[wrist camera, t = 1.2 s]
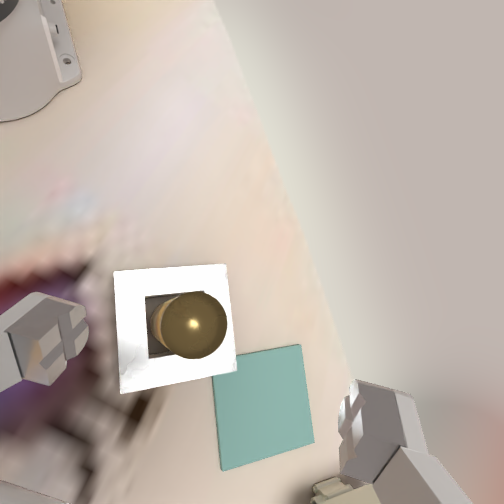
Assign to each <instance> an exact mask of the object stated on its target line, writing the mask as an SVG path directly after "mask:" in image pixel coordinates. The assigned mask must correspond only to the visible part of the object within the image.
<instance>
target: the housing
mask: <svg viewBox="0 0 504 504" xmlns="http://www.w3.org/2000/svg"><path fill="white" fill-rule="evenodd" d="M114 284H115V303H116V322H117V341H118V360H119V378H120V394H124V393H129V392H134V391H139V390H144V389H149V388H154V387H159V386H164V385H169V384H174V383H179V382H184V381H189V380H194V379H199V378H204V377H208V376H213V375H218V374H223V373H228V372H233V371H237V362H236V353H235V344H234V334H233V325H232V316H231V306H230V297H229V288H228V279H227V269H226V264H213V265H199V266H185V267H171V268H157V269H143V270H129V271H115V272H114ZM194 291H198V292H204V293H207V294H209V295H211V296H213V297H214V298H216V299H217V300H218V301H219V302H220V303H221V305H222V306H223V308H224V310H225V312H226V316H227V323H228V326H227V333H226V336H225V338H224V341H223V342H222V344H221V345H220V347H219V348H218V349H217V350H216V351H215V352H213V353H212V354H211V355H209V356H207V357H204V358H201V359H195V360H191V359H185V358H182V357H179V356H177V355H176V354H174V353H173V352H172V351H168V352H162V353H156V354H150V355H148V343H147V328H146V313H145V298H150V297H159V296H169V295H179V294H184V293H188V292H194Z"/></svg>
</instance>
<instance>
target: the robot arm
mask: <svg viewBox="0 0 504 504" xmlns="http://www.w3.org/2000/svg"><path fill="white" fill-rule="evenodd" d="M66 62H69V63H71V64H65V63H66ZM81 79H82V73H81V69H80V65H79V62H78V58H77V54H76V51H75V47H74V44H73V40H72V36H71V33H70V29H69V26H68V22H67V19H66V15H65V11H64V8H63V4H62V1H61V0H0V121H9V120H15V119H19V118H22V117H26V116H28V115H31V114H33V113H35V112H37V111H38V110H40V109H41V108H43V107H44V106H45V105H46V104H48V103H49V102H50V100H51V99H52V98H53V97H54V96H55V95H56V94H57V93H58V92H59V91H61V90H63V89H65V88H68V87H70V86H72V85H75V84H76V83H78V82H79V81H80V80H81ZM86 315H87V314H86V309H85V306H83V305H80V304H77V303H74V302H70V301H67V300H64V299H61V298H57V297H54V296H50V295H46V294H43V293H40V292H34V293H30V294H29V295H28V296H26V297H25V298H23V299H22V300H21V301H19V302H18V303H17V304H15V305H14V306H13V307H11V308H10V309H9V310H7V311H6V312H4V313H3V314H2V315H0V392H2V391H3V390H5V389H7V388H9V387H11V386H13V385H14V384H16V383H18V382H20V381H22V379H25V380H29V381H33V382H37V383H40V384H44V385H48V386H50V385H51V384H52V383H53V382H54V381H55V380H56V379H57V378H58V376H59V375H60V374H61V373H62V372H63V371H64V370H65V369H66V365H67V360H69V359H71V358H73V357H75V356H77V355H78V354H79V353H80V351H81V350H82V349H83V348H84V346H85V343H86V341H87V339H88V334H89V329H88V325H87V324H86V322H85V321H84V320H83V318H84V317H85V316H86ZM349 391H350V395H349V396H346V397H344V399H343V402H342V404H341V407H340V412H339V420H338V432H339V433H340V435H341V437H342V438H343V441H342V443H341V445H340V447H339V459H340V474H343V475H346V476H349V477H352V478H355V479H358V480H361V481H364V482H367V483H370V484H373V485H372V487H373V489H374V491H375V493H376V495H377V497H378V499H379V501H380V503H381V504H473V503H472V501H471V500H470V499H469V498H468V497H467V495H466V494H465V493H464V491H463V490H462V489H461V488H460V487H459V485H458V484H457V483H456V482H455V480H454V479H453V478H452V477H451V475H450V474H449V473H448V472H447V470H446V469H445V468H444V467H443V465H442V464H441V463H440V462H439V460H438V459H437V458H436V457H435V456H432V455H429V452H428V448H427V445H426V441H425V438H424V434H423V430H422V427H421V423H420V420H419V416H418V412H417V409H416V405H415V402H414V398H413V397H412V395H411V394H409V393H405V392H402V391H398V390H394V389H390V388H387V387H383V386H379V385H376V384H372V383H368V382H364V381H360V380H357V379H355V380H353V381H352V383H351V385H350V387H349ZM0 504H70V503H67V502H64V501H61V500H58V499H55V498H52V497H49V496H47V495H44V494H41V493H38V492H35V491H32V490H29V489H26V488H23V487H20V486H17V485H14V484H11V483H8V482H5V481H2V480H0Z"/></svg>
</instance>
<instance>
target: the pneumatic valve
mask: <svg viewBox="0 0 504 504" xmlns="http://www.w3.org/2000/svg"><path fill="white" fill-rule="evenodd" d="M372 485H373V484H367V485H364V486H362V487H359V488H357V489H353V488H352V486H351V485H349V484H347V485H344V484H343V483H341V479H339V478H337V477H334V478H331V479H328V480H326V481H323V482H320V483H317V484H315V485H314V487H313V488H312V490H313V492H314V493H315V494H316V496H315V497H312V498H311V500H310V503H311V504H381V503H380V501H379V499H378V497H377V495H376V493H375V491H374V489H373V487H372Z"/></svg>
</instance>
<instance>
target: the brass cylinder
mask: <svg viewBox="0 0 504 504" xmlns="http://www.w3.org/2000/svg"><path fill="white" fill-rule="evenodd" d="M227 326H228V323H227V316H226V312H225V310H224V308H223V306H222V305H221V303H220V302H219V301H218V300H217V299H216V298H214V297H213V296H211V295H209V294H207V293H204V292H198V291H194V292H188V293H184V294H182V295H180V296H177V297H175V298H173V299H171V300H168V301H166V302H164V303H162V304H160V305H159V306H158V307H157V308H156V309H155V310H154V312H153V314H152V316H151V320H150V328H151V332H152V334H153V336H154V337H155V338H156V339H157V340H158V341H159V342H160V343H162V344H163V345H164V346H165V347H167V348H168V349H169V350H170V351H172V352H173V353H174V354H176V355H177V356H179V357H182V358H185V359H191V360H195V359H201V358H204V357H207V356H209V355H211V354H212V353H213V352H215V351H216V350H217V349H218V348H219V347H220V345H221V344H222V342H223V341H224V338H225V336H226V333H227Z"/></svg>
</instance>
